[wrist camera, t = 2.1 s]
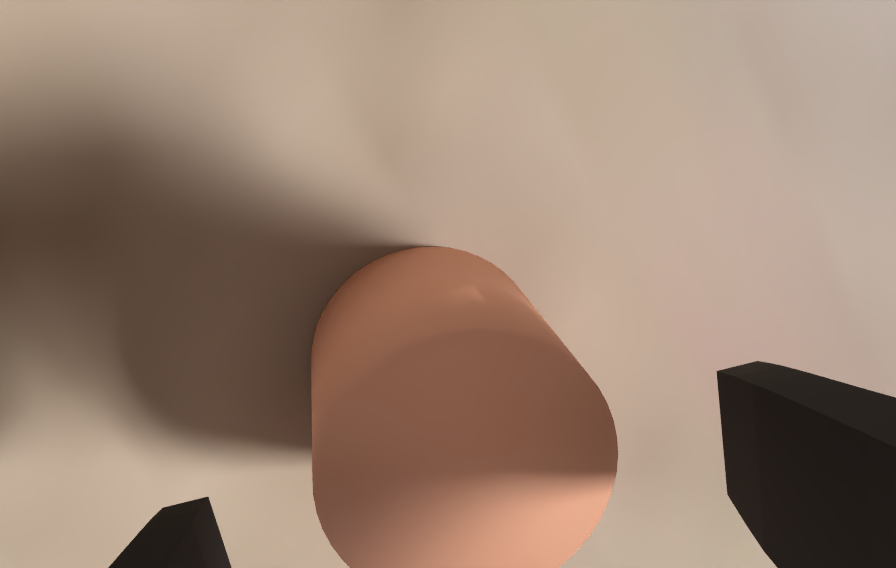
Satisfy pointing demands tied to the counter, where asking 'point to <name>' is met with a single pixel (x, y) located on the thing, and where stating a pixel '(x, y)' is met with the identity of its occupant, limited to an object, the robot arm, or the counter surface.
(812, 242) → the counter surface
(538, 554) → the peach ball
